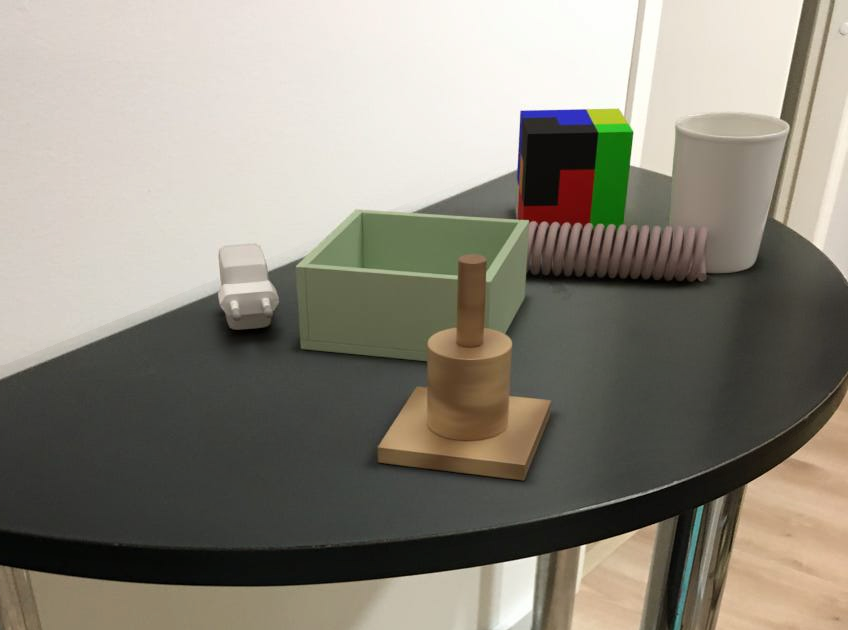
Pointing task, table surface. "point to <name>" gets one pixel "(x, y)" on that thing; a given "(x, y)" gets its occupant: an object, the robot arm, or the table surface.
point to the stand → (468, 398)
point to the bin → (404, 280)
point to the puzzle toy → (573, 166)
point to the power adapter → (246, 287)
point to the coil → (617, 251)
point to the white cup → (726, 182)
